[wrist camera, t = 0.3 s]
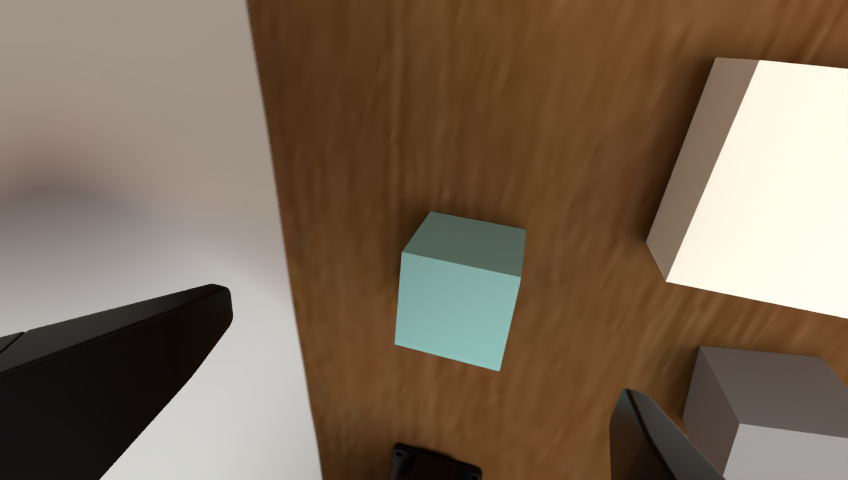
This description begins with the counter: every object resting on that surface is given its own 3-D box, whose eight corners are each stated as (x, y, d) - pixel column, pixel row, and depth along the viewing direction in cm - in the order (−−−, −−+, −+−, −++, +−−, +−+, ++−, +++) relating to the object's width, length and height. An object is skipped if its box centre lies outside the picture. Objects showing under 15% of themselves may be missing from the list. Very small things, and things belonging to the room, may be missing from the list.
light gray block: (789, 431, 21) (851, 530, 17) (681, 417, 23) (713, 504, 18) (819, 356, 19) (898, 445, 15) (699, 344, 21) (739, 423, 16)
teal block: (508, 309, 23) (499, 371, 19) (422, 289, 24) (394, 344, 19) (526, 228, 21) (521, 277, 16) (430, 210, 22) (401, 251, 17)
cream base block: (838, 275, 18) (908, 330, 14) (644, 239, 20) (665, 281, 16) (962, 82, 14) (1095, 93, 11) (713, 57, 16) (759, 60, 12)
